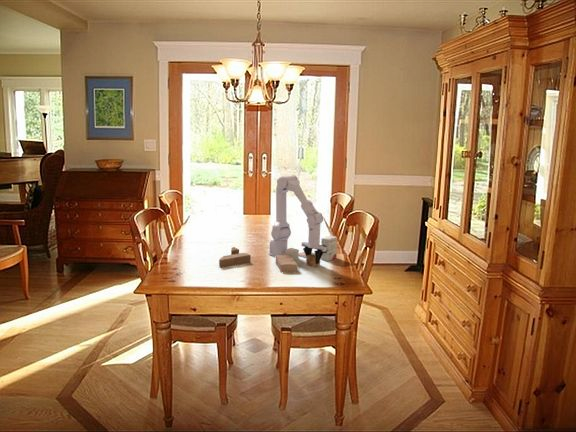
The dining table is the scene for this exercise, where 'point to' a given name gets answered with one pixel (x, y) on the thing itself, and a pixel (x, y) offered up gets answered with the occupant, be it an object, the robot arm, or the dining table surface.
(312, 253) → the card
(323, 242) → the ink box
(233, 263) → the wooden block set
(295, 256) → the cream cube
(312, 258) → the walnut block
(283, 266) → the brick
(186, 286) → the dining table surface
